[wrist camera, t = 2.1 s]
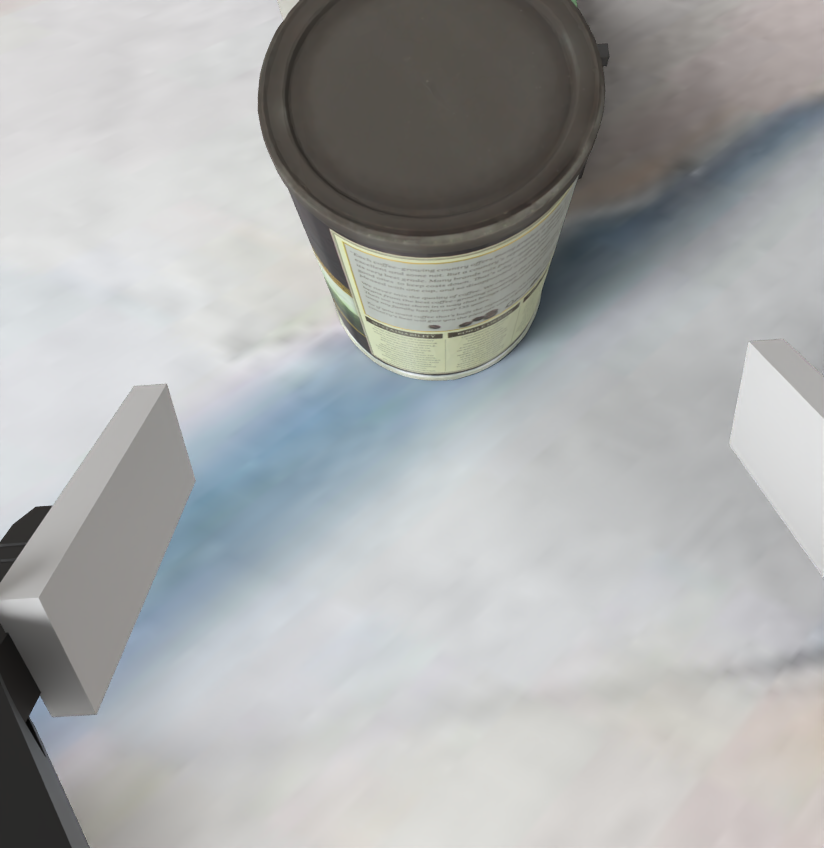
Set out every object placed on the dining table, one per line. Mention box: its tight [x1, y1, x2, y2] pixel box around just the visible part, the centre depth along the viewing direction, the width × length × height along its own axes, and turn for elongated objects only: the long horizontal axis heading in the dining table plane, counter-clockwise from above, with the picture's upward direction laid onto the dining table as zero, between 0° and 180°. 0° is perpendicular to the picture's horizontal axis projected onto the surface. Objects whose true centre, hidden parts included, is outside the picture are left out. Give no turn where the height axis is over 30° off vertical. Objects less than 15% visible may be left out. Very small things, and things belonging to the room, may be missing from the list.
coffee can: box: [258, 0, 605, 380], centre depth 28 cm, size 10×10×14 cm
